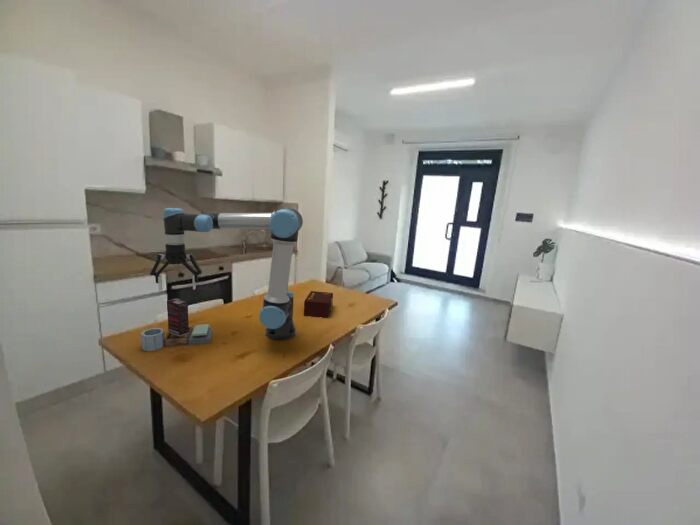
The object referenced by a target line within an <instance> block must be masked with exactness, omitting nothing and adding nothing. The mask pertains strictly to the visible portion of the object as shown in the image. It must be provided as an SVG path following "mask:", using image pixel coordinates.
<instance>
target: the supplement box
mask: <svg viewBox="0 0 700 525" xmlns="http://www.w3.org/2000/svg"><path fill="white" fill-rule="evenodd" d="M188 302H189V301H185V300H182V299H180V298H173V299H168V300H166V306H167V310H166V312H167V329H168V331H167V332H169V333H171V334H174V335H177V336H179V337H181V336H184V335H186V334H189V327H190V326H189V304H188Z"/></svg>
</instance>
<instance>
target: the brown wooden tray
mask: <svg viewBox="0 0 700 525" xmlns="http://www.w3.org/2000/svg"><path fill="white" fill-rule="evenodd" d="M192 329H194V326H189V334H186V335H184V336H181V337H179V336H177V335H174V334H171V333H169V331H167V334H166V336H164V347H177V346H189V345H188V339H189V337H190V334H191V332H192ZM164 347H163V348H164Z"/></svg>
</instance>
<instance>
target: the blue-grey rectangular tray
mask: <svg viewBox="0 0 700 525" xmlns="http://www.w3.org/2000/svg"><path fill="white" fill-rule="evenodd" d="M193 330H194V328H193V329H192V332H191V334H190V337H189V339H188V345H187V346H194V345H206V344H211V341H212V336H213V332H214V331H213V330H214V329H213V327H209V328H208V332H207V335H199V336H192V333H193Z"/></svg>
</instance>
